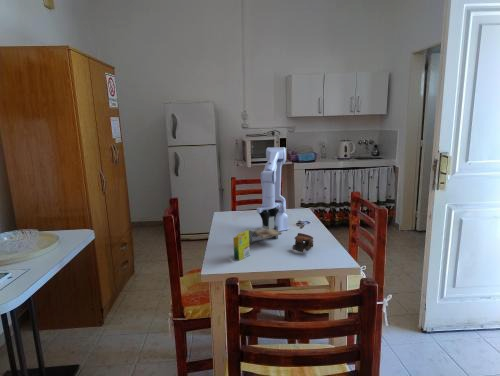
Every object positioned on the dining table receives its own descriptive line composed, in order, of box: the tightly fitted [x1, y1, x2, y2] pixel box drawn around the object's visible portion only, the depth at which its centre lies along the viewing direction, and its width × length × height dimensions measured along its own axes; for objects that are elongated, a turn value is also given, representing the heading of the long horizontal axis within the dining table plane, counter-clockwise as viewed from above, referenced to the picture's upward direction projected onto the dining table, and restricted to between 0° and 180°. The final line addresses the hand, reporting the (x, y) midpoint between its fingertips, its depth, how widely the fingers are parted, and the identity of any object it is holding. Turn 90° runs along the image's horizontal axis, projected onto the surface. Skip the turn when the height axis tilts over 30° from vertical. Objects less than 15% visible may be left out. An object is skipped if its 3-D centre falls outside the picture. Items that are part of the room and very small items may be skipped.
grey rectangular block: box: [261, 216, 274, 230], centre depth 156 cm, size 4×4×6 cm
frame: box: [248, 225, 279, 246], centre depth 163 cm, size 16×6×7 cm, turn 118°
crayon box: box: [232, 229, 250, 261], centre depth 142 cm, size 7×3×12 cm, turn 140°
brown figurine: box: [292, 232, 314, 253], centre depth 149 cm, size 12×9×8 cm
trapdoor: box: [249, 227, 282, 238], centre depth 160 cm, size 12×14×3 cm
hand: (268, 224), depth 156 cm, fingers closed on grey rectangular block, 4 cm apart
